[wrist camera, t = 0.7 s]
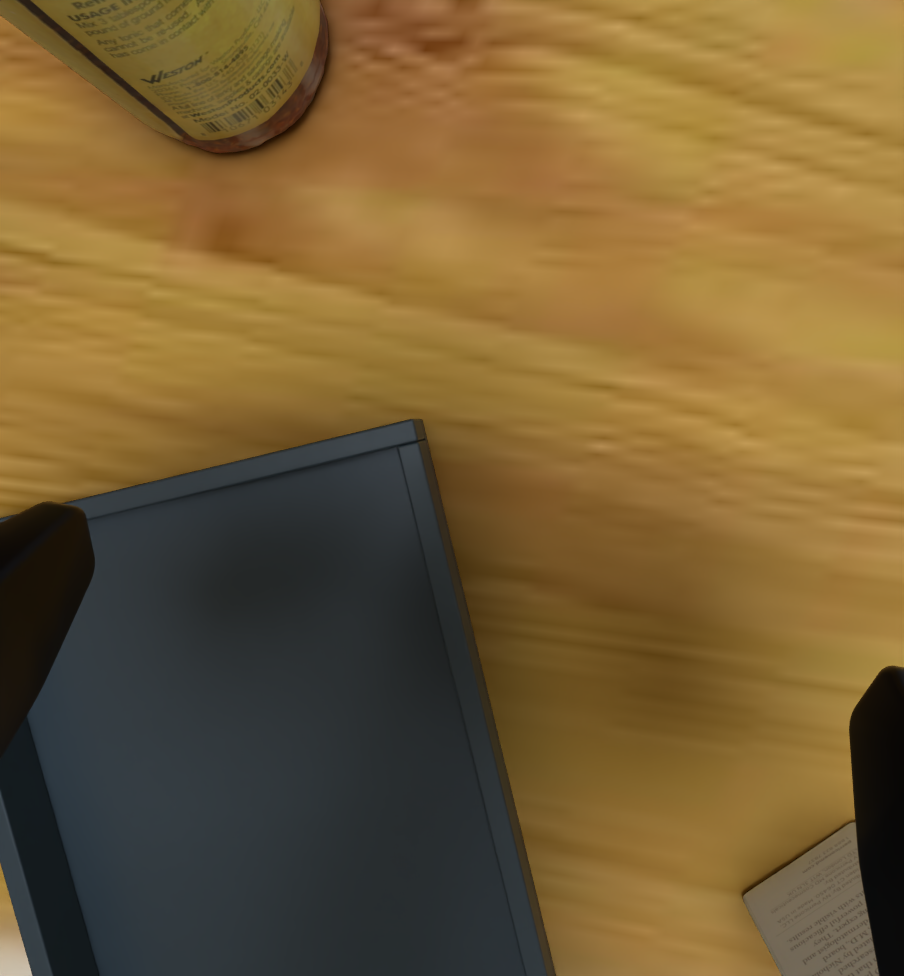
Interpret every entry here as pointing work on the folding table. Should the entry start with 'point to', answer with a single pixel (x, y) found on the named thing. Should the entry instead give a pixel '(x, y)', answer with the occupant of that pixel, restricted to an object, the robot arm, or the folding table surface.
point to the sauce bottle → (190, 60)
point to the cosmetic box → (817, 912)
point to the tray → (270, 737)
